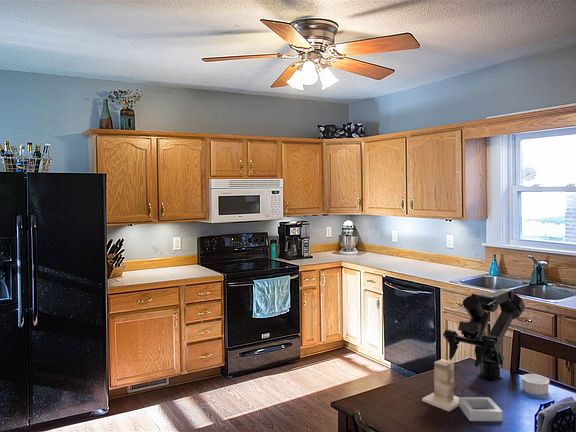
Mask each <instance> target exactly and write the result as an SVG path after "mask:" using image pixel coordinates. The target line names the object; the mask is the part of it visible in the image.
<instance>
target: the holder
mask: <svg viewBox="0 0 576 432" xmlns="http://www.w3.org/2000/svg"><path fill="white" fill-rule="evenodd" d="M458 397H459V406H458V407H459V409H460V410H461V411H462V412H463V414H464V415H465V416H466V418H467V419H468V420H469V421H470V422H503V421H504V420H503V418H504V411H503V410H502V409H501V408H500V407H499V406H498V405H497V404H496V402H495V401H494V400H492V398H490V397H488V396H483V397H482V396H479V397H478V396H475V397H474V396H470V397H469V396H467V397H466V396H462V397H461V396H458Z"/></svg>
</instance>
